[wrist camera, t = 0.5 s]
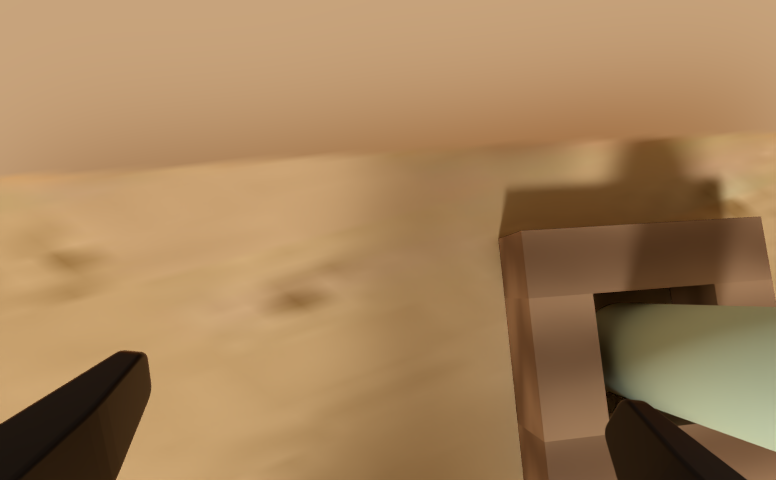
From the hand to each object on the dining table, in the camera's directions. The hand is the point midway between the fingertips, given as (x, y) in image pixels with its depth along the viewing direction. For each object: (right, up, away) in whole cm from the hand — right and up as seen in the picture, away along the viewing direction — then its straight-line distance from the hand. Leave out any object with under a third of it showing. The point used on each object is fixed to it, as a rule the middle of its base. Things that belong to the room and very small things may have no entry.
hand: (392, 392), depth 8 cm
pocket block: (+13, -3, +16) cm, 21 cm away
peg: (+13, -3, +16) cm, 21 cm away
